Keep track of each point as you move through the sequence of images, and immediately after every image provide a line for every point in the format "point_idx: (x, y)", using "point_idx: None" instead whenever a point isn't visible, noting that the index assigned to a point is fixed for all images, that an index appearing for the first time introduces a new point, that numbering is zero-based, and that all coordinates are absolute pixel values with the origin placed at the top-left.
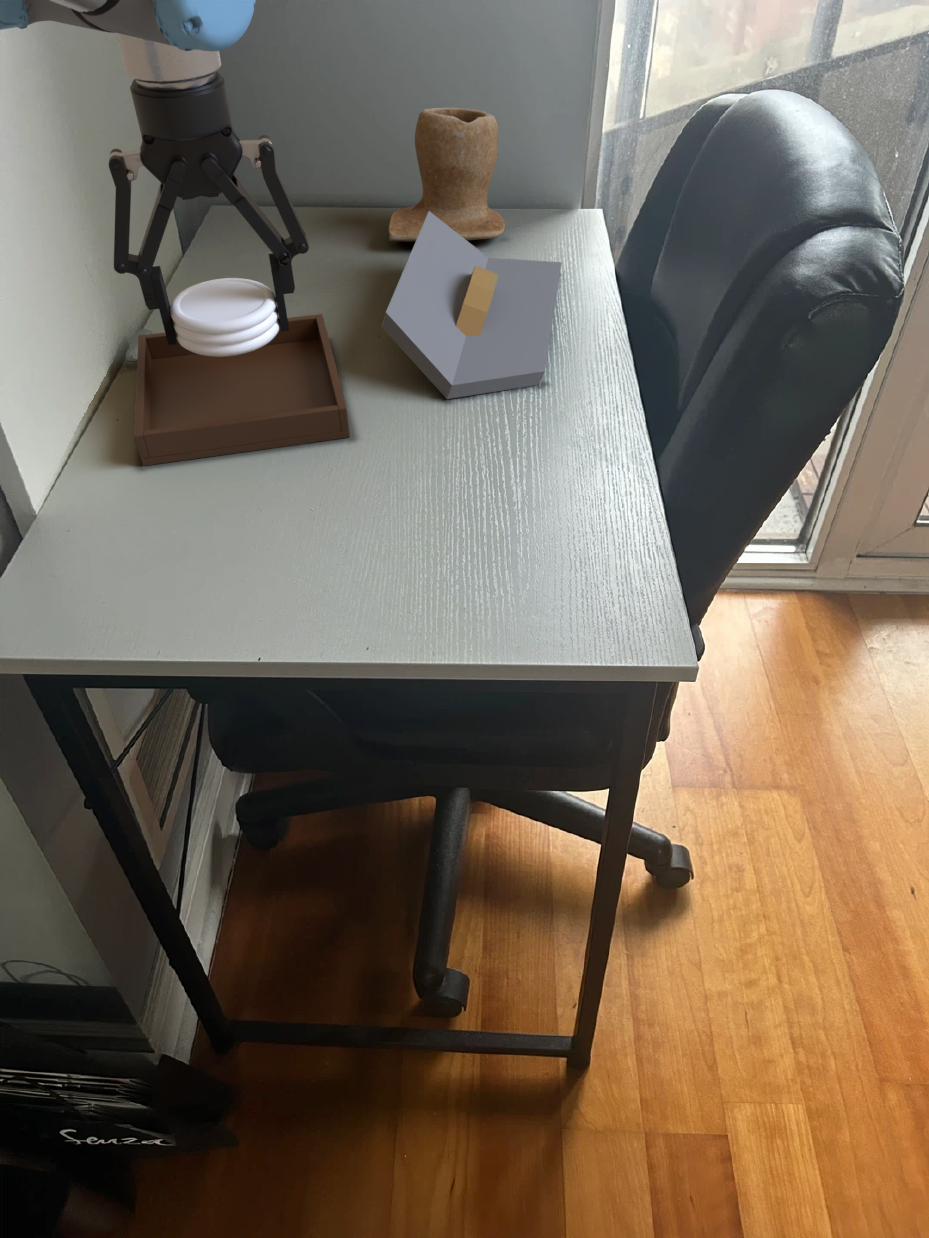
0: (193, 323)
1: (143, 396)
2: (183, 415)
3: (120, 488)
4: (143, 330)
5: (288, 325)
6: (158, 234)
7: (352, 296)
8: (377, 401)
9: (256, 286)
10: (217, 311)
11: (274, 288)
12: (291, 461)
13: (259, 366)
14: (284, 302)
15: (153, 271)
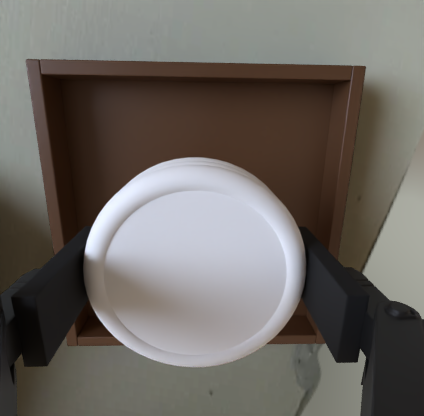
0: (264, 195)
1: (338, 182)
2: (279, 171)
3: (377, 25)
4: (306, 387)
5: (82, 230)
6: (392, 407)
7: (47, 411)
8: (12, 156)
9: (122, 322)
10: (209, 235)
11: (70, 277)
12: (139, 27)
13: None
14: (62, 249)
15: (357, 337)
